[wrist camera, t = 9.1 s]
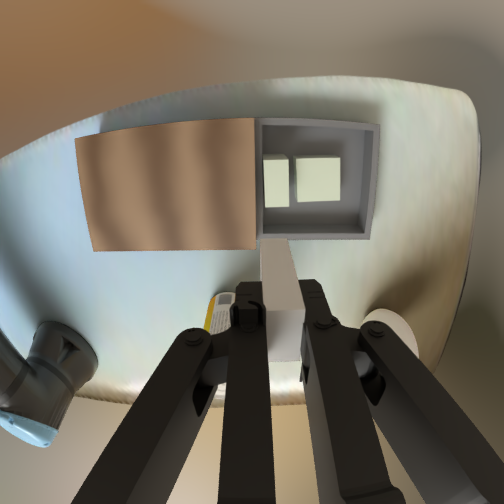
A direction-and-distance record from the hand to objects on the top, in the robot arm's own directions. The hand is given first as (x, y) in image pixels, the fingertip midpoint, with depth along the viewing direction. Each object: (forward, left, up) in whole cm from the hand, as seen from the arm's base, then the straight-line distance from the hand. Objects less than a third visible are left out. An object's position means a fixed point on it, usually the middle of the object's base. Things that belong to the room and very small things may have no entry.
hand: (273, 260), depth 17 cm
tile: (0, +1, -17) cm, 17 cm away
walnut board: (-11, +1, -21) cm, 23 cm away
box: (+6, +1, -21) cm, 21 cm away
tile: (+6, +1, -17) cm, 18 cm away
